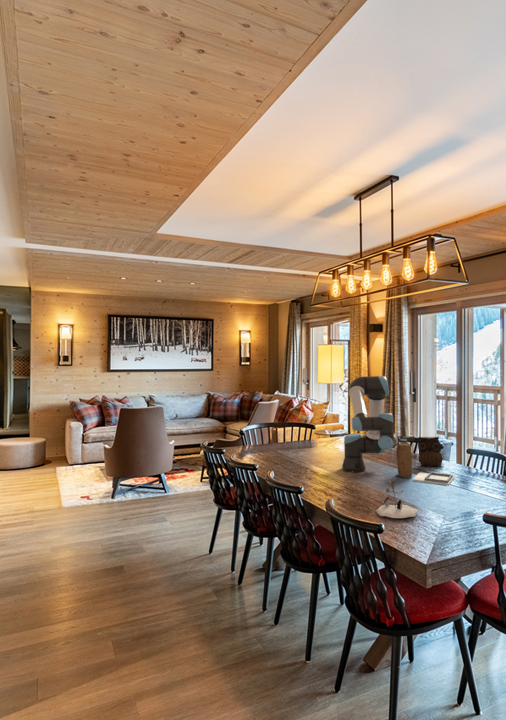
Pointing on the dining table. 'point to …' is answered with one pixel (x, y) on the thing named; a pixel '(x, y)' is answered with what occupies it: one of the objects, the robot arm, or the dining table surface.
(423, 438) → the owl
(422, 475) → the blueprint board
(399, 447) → the block
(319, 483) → the dining table surface
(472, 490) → the dining table surface
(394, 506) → the figurine
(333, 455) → the dining table surface
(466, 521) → the dining table surface
